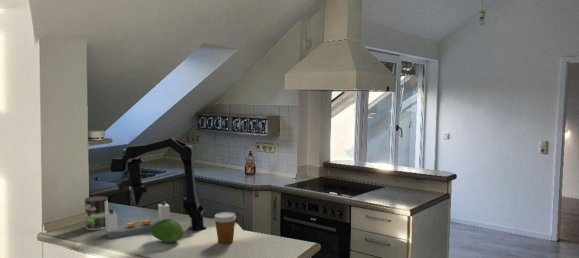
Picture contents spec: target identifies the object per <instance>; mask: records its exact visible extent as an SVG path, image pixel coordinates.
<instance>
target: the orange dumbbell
mask: <svg viewBox="0 0 579 258" xmlns="http://www.w3.org/2000/svg"><path fill="white" fill-rule="evenodd" d="M150 221H151V220H150V219H146V220H140V221H139V220H138V221H133V222H128V223H126V225H127V227H132V226H135V224H137V223H142V224H150V223H151V222H150Z"/></svg>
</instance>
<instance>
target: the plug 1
mask: <svg viewBox="0 0 579 258" xmlns="http://www.w3.org/2000/svg"><path fill="white" fill-rule="evenodd" d="M118 223H119V222H118V213H117V211H114V209H113V208H112V209H111V208H110V209H108V212H106V228H105V231H106V230H107V231H108V232H115V231H118V227H119V225H118Z"/></svg>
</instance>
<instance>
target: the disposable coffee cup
mask: <svg viewBox="0 0 579 258" xmlns="http://www.w3.org/2000/svg"><path fill="white" fill-rule="evenodd" d="M236 219H237V216H236V214H235V213H234V212H231V211H224V212H223V211H222V212H218V213H216V214H215V215H214V217H213V220H214V224H215V229H216V230H215V231H216V234H217V235H216V237H217V242H218V244H220V245H230V244H232V243H234V235H235V234H234V233H235V224H236Z"/></svg>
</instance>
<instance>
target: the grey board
mask: <svg viewBox="0 0 579 258" xmlns="http://www.w3.org/2000/svg"><path fill="white" fill-rule="evenodd" d="M150 222H151V223H150V224H142V223H137V224H135V226H132V227H127V224H126V225H121V226H120V225H119V226H118V231H115V232H108V231H107V230H106V229H105V235H106V237H107V238H108V239H109V240H112V239H118V238H122V237H123V238H124V237H128V236H133V235H134V236H135V235H139V234H145V233H150V231H151V228H152V226H153V225H154V224H156V223H157V222H160V221H159V219H155V220H150Z"/></svg>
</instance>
